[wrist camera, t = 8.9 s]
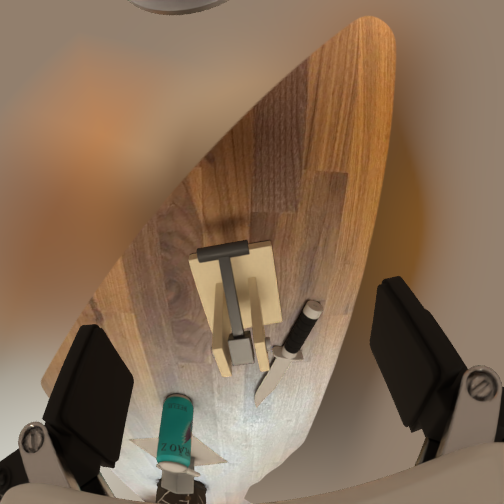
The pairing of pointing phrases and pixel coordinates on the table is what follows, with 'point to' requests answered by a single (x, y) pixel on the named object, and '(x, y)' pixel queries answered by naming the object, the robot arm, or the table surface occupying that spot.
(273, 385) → the knife
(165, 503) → the barrel
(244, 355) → the lever
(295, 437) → the table surface
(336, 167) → the table surface
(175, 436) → the beverage can
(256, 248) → the bracket
